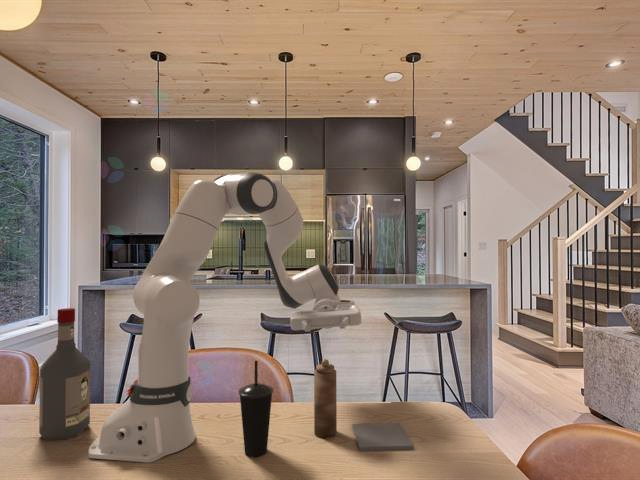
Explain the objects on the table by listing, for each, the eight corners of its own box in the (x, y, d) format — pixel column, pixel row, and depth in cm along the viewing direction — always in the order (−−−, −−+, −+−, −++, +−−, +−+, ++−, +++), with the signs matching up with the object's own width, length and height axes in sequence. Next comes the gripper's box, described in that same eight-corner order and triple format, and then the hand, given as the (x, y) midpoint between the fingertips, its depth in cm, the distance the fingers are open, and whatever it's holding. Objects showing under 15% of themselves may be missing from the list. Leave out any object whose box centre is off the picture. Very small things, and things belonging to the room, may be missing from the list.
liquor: (33, 440, 95) (35, 312, 96) (57, 423, 104) (58, 306, 105) (73, 439, 95) (74, 312, 96) (93, 423, 105) (94, 306, 105)
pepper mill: (314, 438, 96) (314, 362, 96) (313, 428, 101) (313, 356, 101) (337, 438, 96) (337, 362, 96) (335, 428, 101) (335, 356, 102)
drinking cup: (266, 462, 85) (266, 367, 85) (232, 458, 87) (232, 364, 87) (277, 445, 93) (277, 357, 93) (246, 442, 94) (246, 355, 94)
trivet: (359, 450, 90) (359, 447, 90) (352, 427, 102) (352, 423, 102) (413, 449, 91) (412, 445, 91) (399, 425, 103) (399, 422, 103)
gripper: (291, 305, 123) (285, 319, 109) (359, 300, 122) (361, 312, 108) (294, 325, 124) (287, 341, 110) (361, 320, 122) (363, 335, 108)
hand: (324, 327), depth 109 cm, fingers open, 8 cm apart
